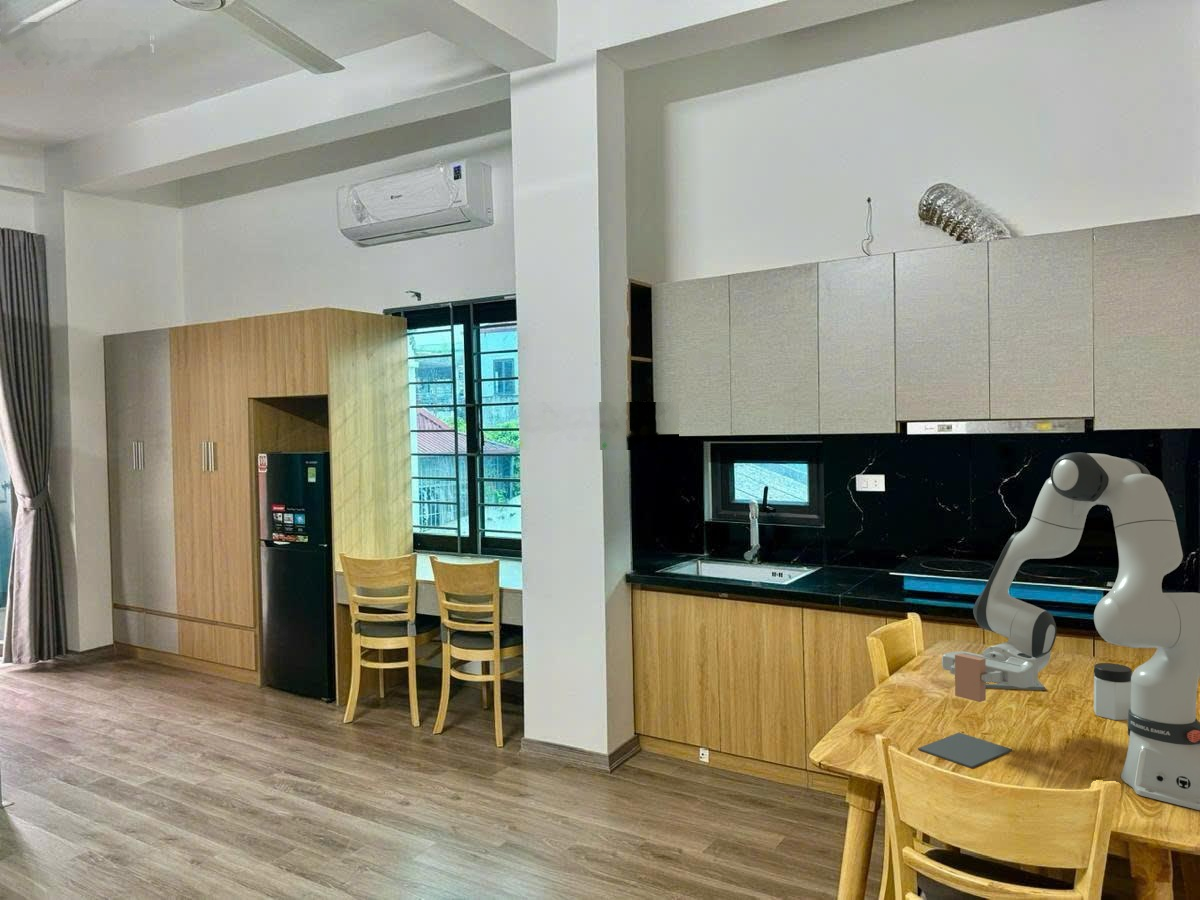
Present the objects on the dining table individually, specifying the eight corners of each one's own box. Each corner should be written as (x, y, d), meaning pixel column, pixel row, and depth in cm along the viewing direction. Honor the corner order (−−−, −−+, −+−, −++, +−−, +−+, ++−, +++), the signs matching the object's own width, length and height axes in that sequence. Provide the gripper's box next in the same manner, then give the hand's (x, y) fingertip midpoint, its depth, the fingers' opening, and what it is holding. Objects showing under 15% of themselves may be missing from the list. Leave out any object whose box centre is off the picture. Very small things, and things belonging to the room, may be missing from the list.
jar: (1117, 708, 220) (1118, 661, 219) (1141, 719, 212) (1141, 671, 211) (1084, 710, 219) (1085, 663, 219) (1106, 721, 211) (1107, 672, 211)
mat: (1012, 750, 193) (1012, 749, 193) (971, 768, 184) (971, 766, 184) (958, 734, 204) (958, 732, 204) (918, 749, 195) (918, 748, 195)
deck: (961, 693, 199) (961, 653, 199) (985, 700, 194) (985, 658, 194) (955, 695, 197) (954, 654, 197) (979, 702, 193) (979, 660, 192)
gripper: (960, 642, 211) (927, 651, 203) (1043, 659, 195) (1011, 670, 187) (960, 667, 212) (927, 677, 204) (1044, 687, 195) (1011, 699, 187)
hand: (968, 674), depth 195 cm, fingers closed on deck, 6 cm apart
